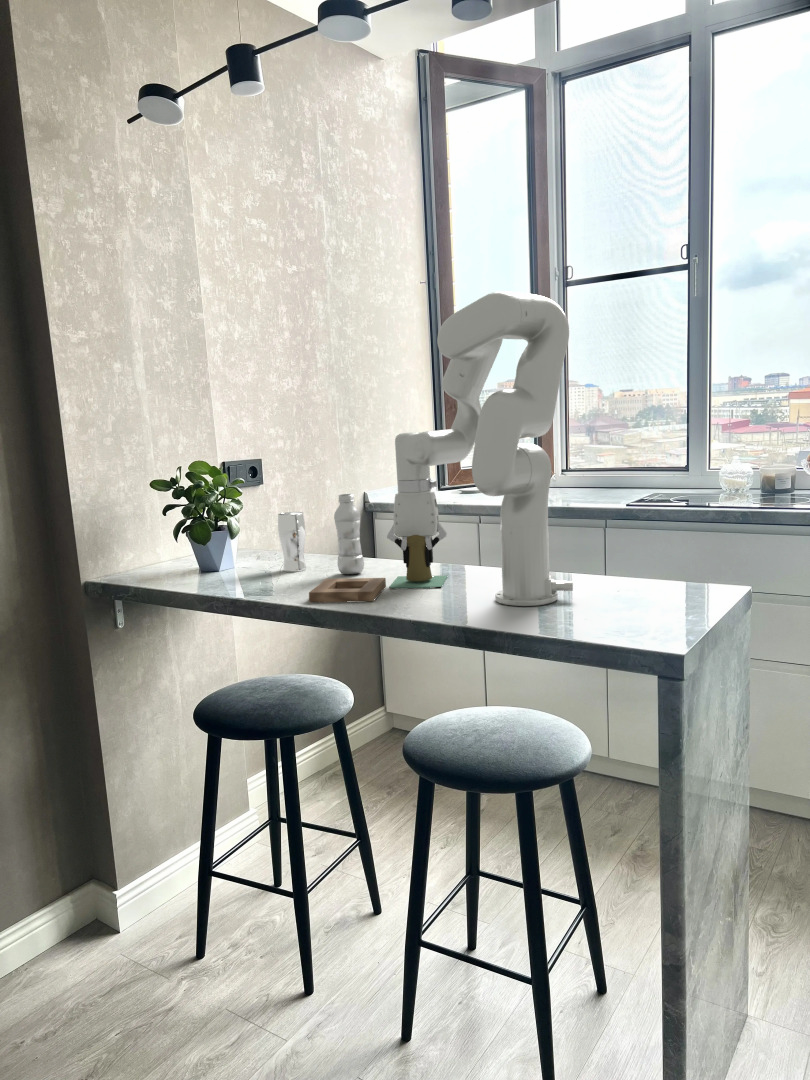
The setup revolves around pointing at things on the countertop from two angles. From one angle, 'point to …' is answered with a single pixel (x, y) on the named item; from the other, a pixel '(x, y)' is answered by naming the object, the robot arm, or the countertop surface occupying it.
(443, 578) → the mat
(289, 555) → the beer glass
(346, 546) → the plastic bottle
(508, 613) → the countertop surface
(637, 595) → the countertop surface
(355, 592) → the socket
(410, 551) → the cork
